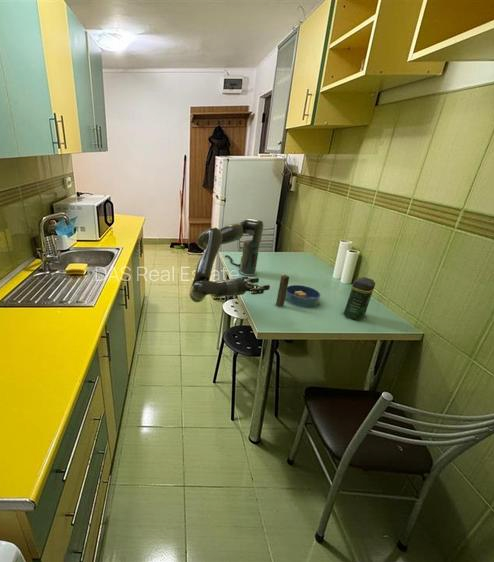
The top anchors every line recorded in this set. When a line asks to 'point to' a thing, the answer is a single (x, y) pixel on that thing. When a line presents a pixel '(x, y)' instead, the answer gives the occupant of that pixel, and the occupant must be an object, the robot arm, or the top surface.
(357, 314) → the coffee jar
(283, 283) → the stick
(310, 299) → the bowl
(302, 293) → the block
